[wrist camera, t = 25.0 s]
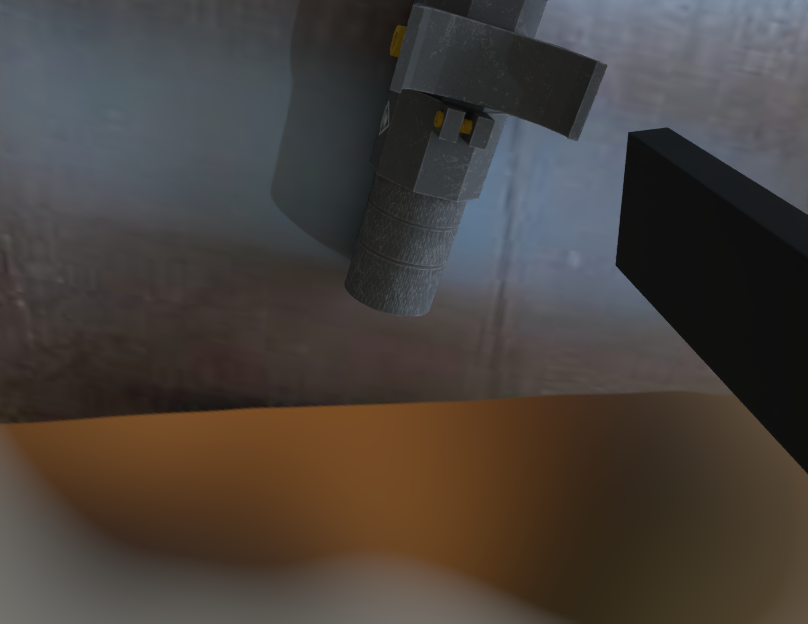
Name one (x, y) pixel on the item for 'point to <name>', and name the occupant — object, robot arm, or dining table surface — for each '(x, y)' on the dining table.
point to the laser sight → (454, 134)
